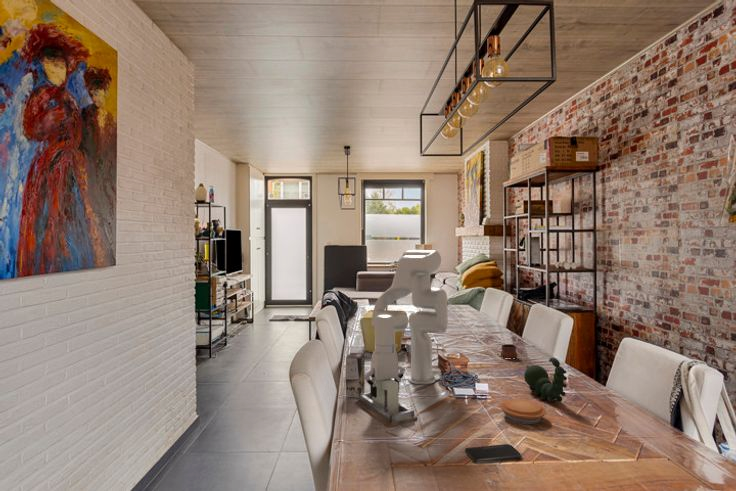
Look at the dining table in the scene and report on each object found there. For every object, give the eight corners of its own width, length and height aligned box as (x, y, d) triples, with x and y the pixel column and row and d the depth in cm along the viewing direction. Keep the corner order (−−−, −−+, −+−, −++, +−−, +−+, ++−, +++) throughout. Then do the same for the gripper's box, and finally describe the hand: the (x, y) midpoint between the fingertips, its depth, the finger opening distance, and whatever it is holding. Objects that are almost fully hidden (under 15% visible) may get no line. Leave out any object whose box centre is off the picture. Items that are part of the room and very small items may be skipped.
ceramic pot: (533, 359, 226) (533, 346, 226) (512, 365, 216) (511, 351, 216) (506, 352, 241) (505, 340, 241) (484, 357, 231) (484, 345, 231)
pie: (490, 413, 154) (490, 399, 154) (523, 406, 160) (523, 393, 160) (521, 430, 140) (521, 415, 140) (555, 422, 146) (555, 408, 146)
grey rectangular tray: (382, 398, 169) (382, 389, 169) (417, 419, 148) (417, 409, 148) (355, 403, 164) (355, 394, 164) (388, 427, 143) (388, 416, 143)
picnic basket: (366, 341, 268) (366, 294, 268) (407, 342, 265) (407, 295, 265) (359, 353, 239) (359, 300, 239) (404, 354, 236) (404, 301, 236)
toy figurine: (571, 410, 160) (535, 383, 185) (574, 362, 158) (537, 341, 183) (549, 412, 159) (515, 384, 183) (551, 364, 157) (517, 342, 181)
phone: (523, 456, 121) (474, 461, 119) (523, 460, 121) (474, 465, 119) (509, 443, 129) (463, 447, 127) (509, 447, 129) (463, 451, 127)
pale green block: (381, 402, 162) (381, 374, 162) (398, 413, 152) (398, 382, 152) (371, 404, 160) (371, 375, 160) (388, 415, 150) (388, 384, 150)
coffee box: (360, 398, 170) (360, 358, 170) (345, 397, 171) (345, 357, 171) (365, 390, 179) (365, 352, 178) (350, 389, 180) (350, 351, 180)
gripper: (398, 343, 163) (399, 387, 164) (359, 349, 155) (359, 395, 155) (409, 347, 157) (410, 393, 157) (369, 353, 148) (369, 401, 149)
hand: (385, 394), depth 156 cm, fingers open, 9 cm apart
